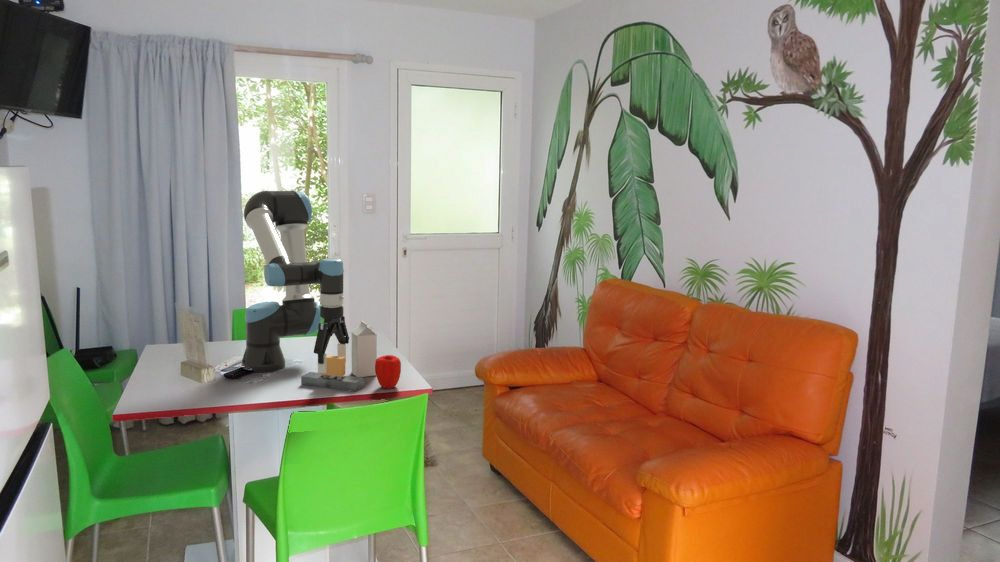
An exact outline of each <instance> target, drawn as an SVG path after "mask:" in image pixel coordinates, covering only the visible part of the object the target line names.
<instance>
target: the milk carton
mask: <svg viewBox="0 0 1000 562" xmlns="http://www.w3.org/2000/svg"><path fill="white" fill-rule="evenodd" d="M373 329H374V327H373V326H372V325H370V324H367V323H366V322H364V321H363V320H360V323H359V325H357V326H356V327H355V328H354V329H353V330H352V331H351V373H352V375H354V377H362V378H365V377H374V376H376V373H375V362H376V359H377V358H378V357H377V355H378V353H377V352H378V351H377V346H378V345H377V343H378V342H377V341H378V340H377V334H376V333H375V332H374V331H373Z"/></svg>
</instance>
